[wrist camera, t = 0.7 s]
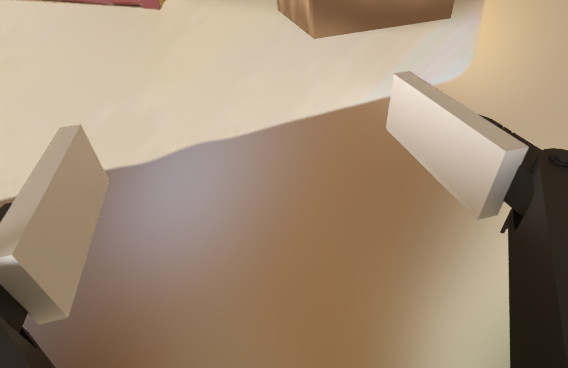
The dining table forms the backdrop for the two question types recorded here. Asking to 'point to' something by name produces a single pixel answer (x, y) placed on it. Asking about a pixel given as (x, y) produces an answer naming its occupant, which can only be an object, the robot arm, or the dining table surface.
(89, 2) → the candy box
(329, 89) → the dining table surface
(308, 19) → the box
